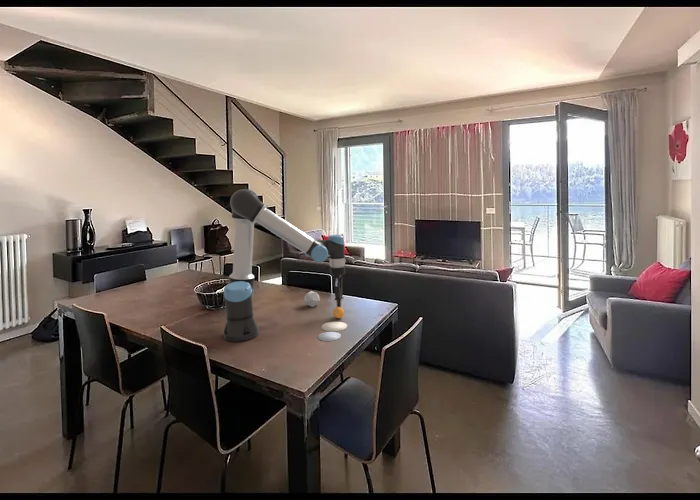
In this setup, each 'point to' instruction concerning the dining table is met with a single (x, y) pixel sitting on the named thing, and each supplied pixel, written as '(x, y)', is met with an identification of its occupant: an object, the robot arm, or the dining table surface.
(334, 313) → the ball
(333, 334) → the disc
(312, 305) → the die
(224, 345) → the dining table surface
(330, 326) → the disc
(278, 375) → the dining table surface
